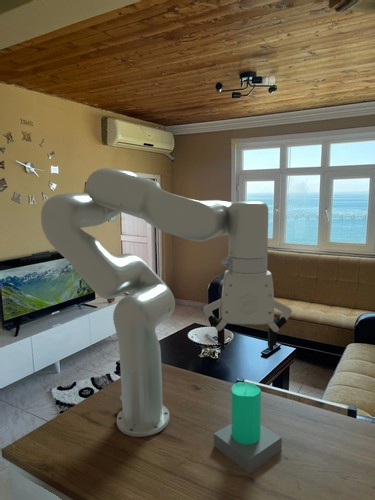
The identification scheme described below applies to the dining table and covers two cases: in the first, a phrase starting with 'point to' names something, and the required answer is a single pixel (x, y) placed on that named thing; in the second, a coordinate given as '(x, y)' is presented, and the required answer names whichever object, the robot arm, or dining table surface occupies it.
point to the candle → (246, 412)
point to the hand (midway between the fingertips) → (246, 347)
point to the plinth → (248, 447)
